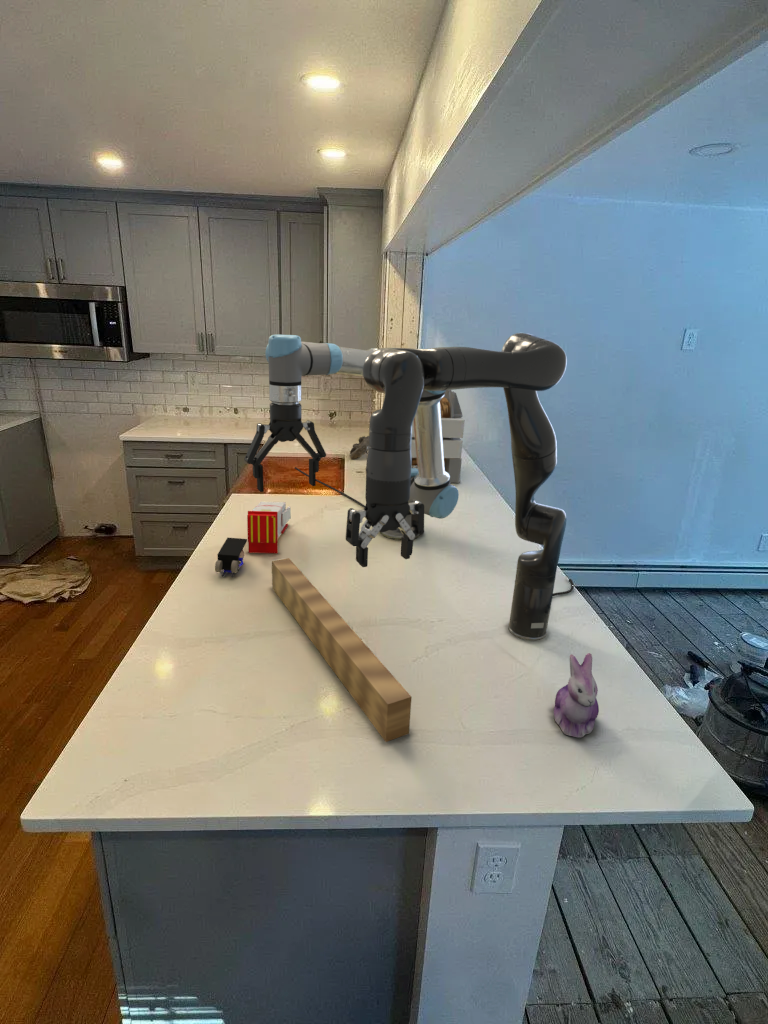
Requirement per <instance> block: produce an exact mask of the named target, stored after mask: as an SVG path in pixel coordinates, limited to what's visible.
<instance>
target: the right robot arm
mask: <svg viewBox="0 0 768 1024" xmlns="http://www.w3.org/2000/svg"><path fill="white" fill-rule="evenodd" d="M567 364H568V358H567V353H566V351H565V350H564V349H563V347H562V346H560V345H559V344H558V343H556V342H554V341H552V340H549V339H545V338H543V337H540V336H536V335H534V334H530V333H527V332H516V333H514V334H512V335H510V336H509V337H508V338H507V339H506V340H505V342H504V343H503V345H502V348H501V350H500V351H499V350H490V349H485V348H477V347H471V346H439V347H432V348H431V347H430V348H411V347H410V348H407V347H381V348H380V349H377V350H375V351H374V352H372V353H371V354H370V355H369V356H368V357H367V358H366V360H365V362H364V365H363V377H362V378H363V379H364V382H365V383H366V384H367V385H368V386H369V387H370V389H372V390H374V391H375V392H378V393H381V394H384V398H383V402H382V406H381V408H380V409H376V410H375V411H373V412H372V413H371V414H370V418H369V425H368V436H369V447H368V451H367V453H368V454H367V453H366V454H367V455H366V467H365V497H364V498H365V504H364V505H365V508H364V507H363V509H354V508H352V507H351V508H349V509H348V510H347V517H346V528H345V541H346V542H347V543H348V544H350V545H351V546H352V547H355V561H356V562H357V564H358V565H359V566H361V567H362V568H367V567H368V563H369V547H368V546H369V545H370V543H371V541H372V540H373V539H375V538H376V537H377V535H378V534H380V532H386V531H388V530H392V531H393V530H397V528H399V530H400V531H401V532H402V534H403V535H404V536H402V537H401V540H400V557H402V558H403V559H404V560H409V559H410V558H411V556H412V554H413V547H414V540H415V539H416V538H415V536H417V535H421V536H422V535H424V533H425V514H424V504H422V503H421V502H419V501H417V500H413V501H412V503H408V501H409V498H410V483H411V468H413V467H412V457H411V442H412V423H413V420H414V417H415V415H416V412H417V408H418V405H419V402H420V398H421V395H422V392H423V390H429V391H445V390H451V391H454V390H465V389H466V390H467V389H478V388H479V389H480V388H482V389H483V388H485V389H486V388H502V389H503V392H504V396H505V402H506V407H507V415H508V416H507V417H508V423H509V424H508V425H509V433H510V448H511V460H512V467H513V476H514V488H515V489H514V491H515V502H514V503H515V506H514V507H515V509H514V510H515V511H514V527H515V532H516V535H517V537H519V539H521V540H524V541H526V542H529V543H533V544H537V545H540V546H543V549H540V550H529V551H524V552H522V553H520V555H518V558H517V562H516V572H515V578H514V585H513V593H512V601H511V607H510V614H509V622H508V626H507V629H508V632H509V633H510V634H511V635H512V636H514V637H515V638H517V639H520V640H523V641H529V642H536V641H537V642H539V641H541V640H543V639H545V638H546V637H547V635H548V625H549V620H550V615H551V607H552V601H553V597H555V596H559V595H561V596H562V595H568V594H571V593H572V592H573V591H574V589H575V586H574V581H573V579H572V578H569V579H568V583H569V584H570V589H568V590H566V591H559V592H554V588H555V582H556V578H557V577H556V576H557V571H558V570H557V569H558V566H559V565H558V564H559V560H560V556H561V549H562V545H563V540H564V538H565V537H564V536H565V531H566V527H567V513H566V511H565V510H564V509H562V508H560V507H555V506H551V505H546V504H541V503H538V502H536V499H535V494H536V493H537V492H538V490H539V489H540V488H541V487H542V486H543V485H544V484H545V482H546V481H547V480H548V479H549V478H550V477H551V476H552V474H553V473H554V471H555V470H556V467H557V464H558V443H557V436H556V432H555V430H554V427H553V425H552V423H551V421H550V419H549V416H548V415H547V413H546V411H545V409H544V407H543V405H542V403H541V401H540V398H539V395H538V392H545V391H549V390H551V389H552V388H554V387H555V386H556V385H558V383H559V382H561V380H562V378H563V376H564V375H565V373H566V370H567ZM409 511H410V513H411V527H410V526H409V525H408V523H407V522H406V520H405V517H406V516H407V514H408V513H409ZM364 518H365V521H364V522H363V519H364ZM362 523H363V524H362ZM361 524H362V525H361ZM360 526H361V527H360ZM414 538H415V539H414ZM572 585H573V586H572Z"/></svg>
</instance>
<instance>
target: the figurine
mask: <svg viewBox="0 0 768 1024" xmlns="http://www.w3.org/2000/svg"><path fill="white" fill-rule="evenodd" d="M569 670H570V671H569V673H570V677H569V679H568V682H567V684H566V685H564V686H562V687H561V688H559V690H557V691H556V695H555V698H554V707H553V717H554V722H555V723H556V725H558V726H559V727H560V729H561V731H562V733H563V734H564V735H566V736H569V737H574V738H584V736H585V735H588V734H589V735H590V734H591V733H592V732H593V729H594V727H595V723H596V720H597V718H598V716H599V711H600V708H599V702H598V699H597V696H598V692H599V689H598V685H597V682H596V680H595V677H594V675H593V653H591V652H588V653H586V654H585V656H584V658H583V661H582V663H581V664H580V662H579V661H578V658H577V656H575V655H574V654H570V655H569Z"/></svg>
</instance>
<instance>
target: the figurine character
mask: <svg viewBox="0 0 768 1024" xmlns="http://www.w3.org/2000/svg"><path fill="white" fill-rule="evenodd" d="M247 543H248V538H240V537H226V539H225V541H224V543H223V544H222V546H221V547H220V549H219V551H218V552H217V560H216V562H215V564H214V572H215V573H221V577H222V578H224V577H225V576H226V574H227V573H230V574H231V573H232V574H231V578H234V577H235V575H236V573H237V572H239V571H240V567H242V566H243V565H244V564H245V562H244V558H245V551H244V547H245V546H246V544H247Z"/></svg>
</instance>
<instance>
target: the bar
mask: <svg viewBox="0 0 768 1024" xmlns="http://www.w3.org/2000/svg"><path fill="white" fill-rule="evenodd" d="M271 585H272V586H271V587H272V588H271V589H272V590H273V592H274V593H275V594H276V595H277V596H278V598H279V600H280V601H281V602H282V604H283V605H284V606H285V607H286V609H287V610H288V612H289V613H290V614H291V615H292V617H293V619H294V620H295V621H296V623H297V624H298V625H299V626H300V628H301V629H302V630H303V632H304V634H306V636H307V638H308V639H309V640H310V641H311V643H312V644H313V645H314V647H315V648H316V649H317V651H318V652H319V654H320V655H321V656H322V657H323V660H325V662H326V664H328V666H329V667H330V668H331V670H332V672H334V674H335V675H336V676H337V678H338V679H339V681H340V682H341V684H342V685H343V687H345V689H346V690H347V692H348V693H349V694H350V696H351V697H352V699H353V700H354V701H355V702H356V704H357V705H358V707H359V708H360V709H361V711H362V712H363V713H364V715H365V716H366V717H367V719H368V720H369V721H370V723H371V724H372V725H373V727H374V728H375V730H376V731H377V732H378V734H379V736H380V737H381V738H382V739H383V741H384V742H385V743H388V742H389V741H393V740H395V739H398V738H401V737H403V736H406V735H409V734H410V725H411V724H410V723H411V711H412V700H413V699H412V695H411V694H410V693H409V692H408V691H407V689H405V687H404V686H403V685H402V684H401V683H400V682H399V681H398V680H397V678H396V677H395V676H394V675H393V673H391V672H390V670H389V669H388V668H387V667H386V666H385V665H384V663H383V662H381V660H380V659H379V658H378V657H377V656H376V654H375V653H374V652H373V651H372V650H371V649H370V648H369V647H368V645H367V644H366V643H365V642H364V641H363V640H362V639H361V637H360V636H359V635H358V634H357V633H356V632H355V631H354V630H353V629H352V627H351V626H350V625H349V624H348V623H347V622H346V620H345V619H344V618H342V616H341V615H340V613H338V612H337V610H335V608H334V607H333V606H332V605H331V604H330V602H329V601H327V599H326V598H325V597H324V596H323V595H322V593H321V592H320V591H319V590H318V589H317V588H316V586H314V584H313V583H312V582H311V581H310V580H309V579H308V578H307V576H306V575H305V574H304V573H303V572H302V571H301V570H300V568H299V567H298V566H297V565H296V564H295V563H294V561H293V560H291V558H290V557H288V558H282V559H281V558H280V559H275V560H271Z"/></svg>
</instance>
